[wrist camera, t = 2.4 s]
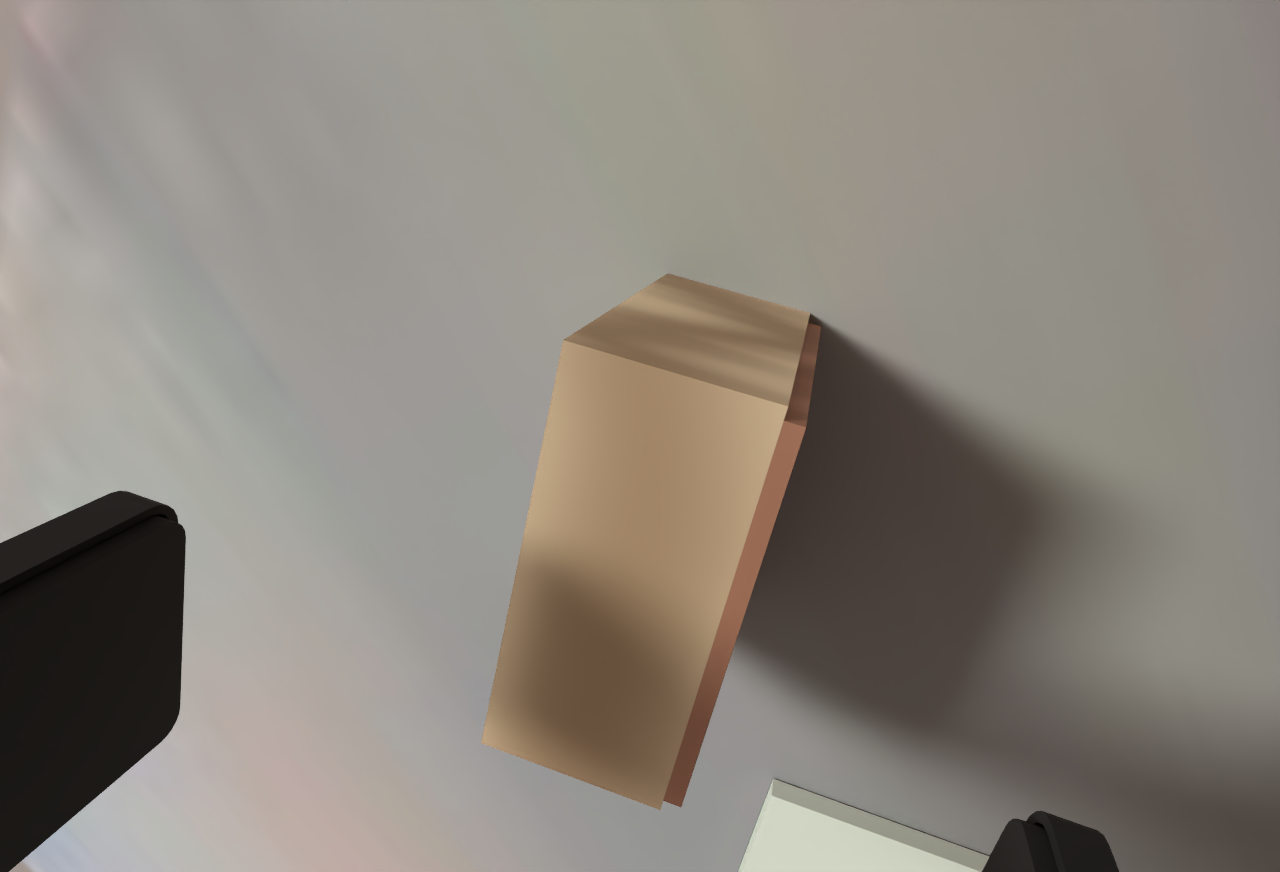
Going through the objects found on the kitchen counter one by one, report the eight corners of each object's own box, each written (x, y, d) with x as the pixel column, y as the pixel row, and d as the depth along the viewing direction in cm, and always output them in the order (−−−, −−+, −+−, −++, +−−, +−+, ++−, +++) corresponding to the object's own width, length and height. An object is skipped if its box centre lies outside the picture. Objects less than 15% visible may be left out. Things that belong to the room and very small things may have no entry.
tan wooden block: (824, 316, 17) (810, 413, 11) (733, 599, 20) (678, 816, 13) (667, 273, 18) (563, 340, 11) (598, 554, 20) (481, 742, 14)
